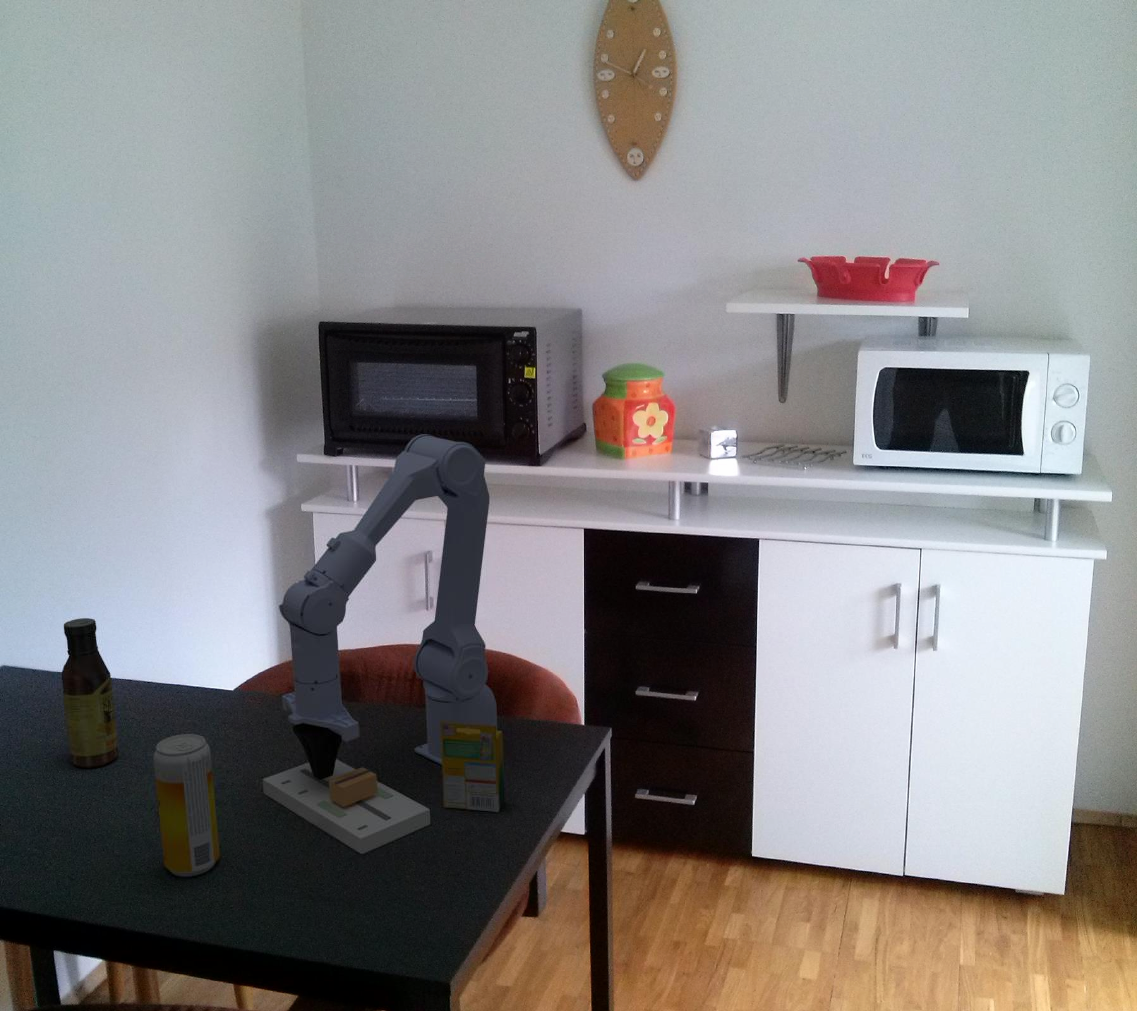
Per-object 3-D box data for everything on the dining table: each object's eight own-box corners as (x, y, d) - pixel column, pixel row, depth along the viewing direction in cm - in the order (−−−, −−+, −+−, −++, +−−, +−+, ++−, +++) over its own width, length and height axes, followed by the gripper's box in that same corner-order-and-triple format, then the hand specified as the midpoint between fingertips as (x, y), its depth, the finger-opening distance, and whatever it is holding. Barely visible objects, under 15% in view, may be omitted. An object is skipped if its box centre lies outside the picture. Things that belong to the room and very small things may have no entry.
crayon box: (505, 802, 150) (503, 716, 148) (499, 813, 147) (496, 726, 145) (450, 797, 152) (446, 712, 149) (443, 808, 149) (439, 721, 146)
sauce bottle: (120, 765, 162) (105, 626, 158) (70, 773, 160) (54, 633, 156) (118, 746, 168) (104, 612, 164) (71, 754, 166) (55, 618, 162)
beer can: (200, 846, 141) (189, 728, 137) (230, 862, 137) (220, 741, 133) (154, 867, 136) (141, 745, 133) (184, 885, 132) (172, 760, 129)
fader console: (329, 768, 160) (328, 754, 160) (430, 824, 145) (429, 808, 144) (263, 793, 154) (262, 778, 153) (361, 854, 138) (360, 837, 138)
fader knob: (364, 785, 150) (362, 766, 149) (377, 793, 148) (376, 773, 147) (329, 798, 146) (328, 779, 146) (343, 807, 144) (342, 787, 144)
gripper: (258, 669, 151) (266, 768, 154) (321, 700, 141) (328, 805, 144) (306, 655, 156) (313, 751, 159) (370, 684, 146) (376, 786, 149)
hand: (323, 776), depth 152 cm, fingers closed
